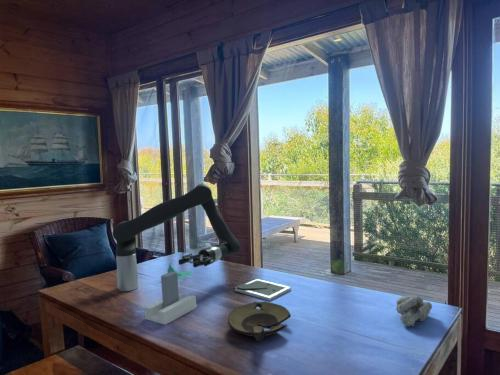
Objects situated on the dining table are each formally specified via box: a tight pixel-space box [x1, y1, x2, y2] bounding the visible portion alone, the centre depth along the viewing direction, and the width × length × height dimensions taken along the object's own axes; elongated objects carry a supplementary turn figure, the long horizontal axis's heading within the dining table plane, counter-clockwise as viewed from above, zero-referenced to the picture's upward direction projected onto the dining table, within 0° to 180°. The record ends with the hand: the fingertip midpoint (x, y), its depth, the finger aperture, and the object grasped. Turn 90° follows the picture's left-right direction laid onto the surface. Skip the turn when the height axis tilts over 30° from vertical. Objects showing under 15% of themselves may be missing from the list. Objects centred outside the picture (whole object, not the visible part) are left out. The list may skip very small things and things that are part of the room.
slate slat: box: [160, 271, 180, 308], centre depth 148 cm, size 3×6×15 cm, turn 147°
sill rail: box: [144, 291, 198, 326], centre depth 148 cm, size 11×18×5 cm, turn 147°
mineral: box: [395, 295, 433, 327], centre depth 133 cm, size 12×17×10 cm
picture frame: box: [234, 278, 292, 302], centre depth 169 cm, size 16×3×21 cm
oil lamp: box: [227, 300, 292, 342], centre depth 129 cm, size 22×30×8 cm
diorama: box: [167, 262, 193, 280], centre depth 197 cm, size 12×20×9 cm, turn 140°
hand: (186, 263), depth 159 cm, fingers open, 8 cm apart
